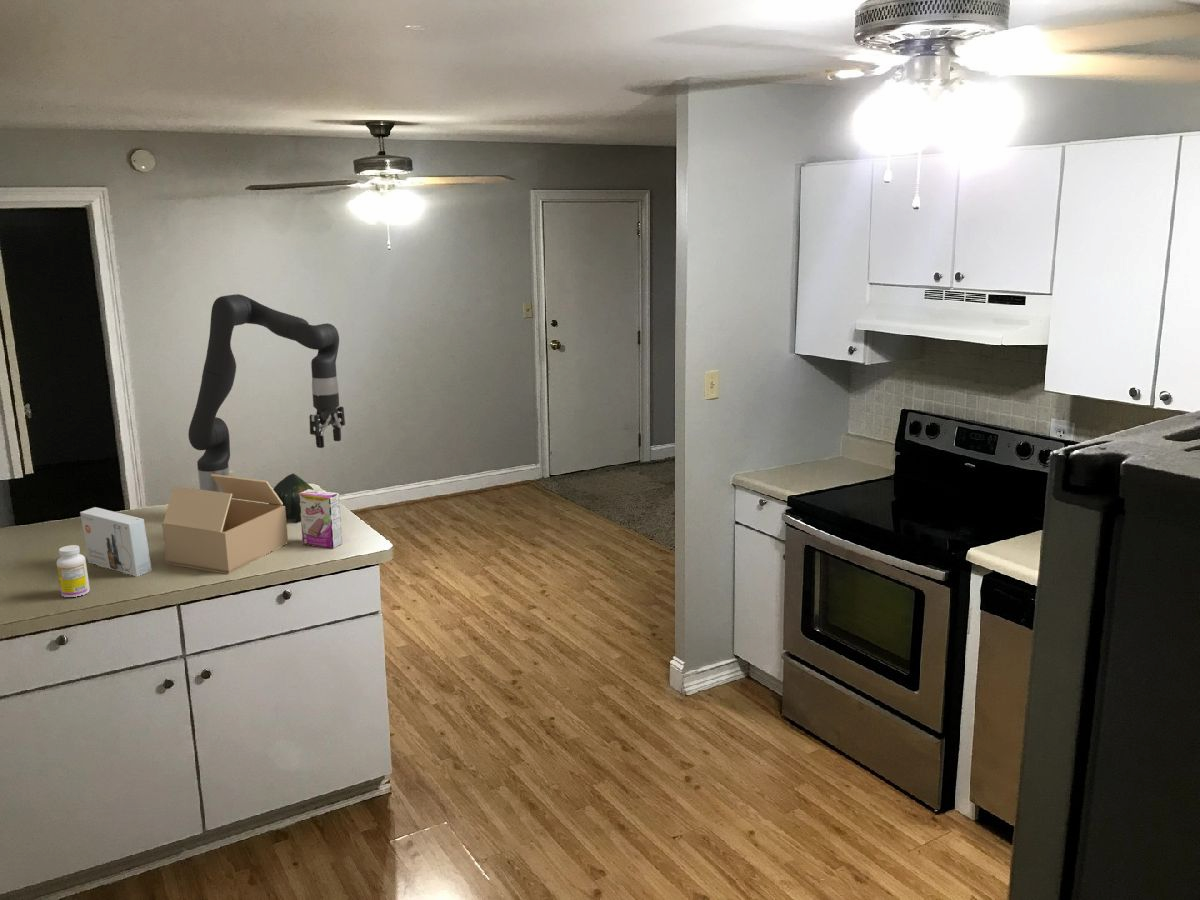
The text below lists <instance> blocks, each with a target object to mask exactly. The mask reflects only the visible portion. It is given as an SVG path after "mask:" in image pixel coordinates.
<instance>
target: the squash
mask: <svg viewBox="0 0 1200 900" xmlns="http://www.w3.org/2000/svg"><path fill="white" fill-rule="evenodd" d="M272 488H273V490H274V491H275V493H276V494H277V495H278V497H279V498H280V500H281V501H282V502H283V505H281V506H285V511H286V520H287V519H288V520H289V519H293V520H294V521H296V522H301V514H300V501H299V493H301V492H303V491H305V490H307V489H311V490H315V489H314V488H313V487H312V486H311V485H310V484H309V483H307V482H306V481H305V480H304V479H302V478H301V477H300V476H298V475H297V474H295V473H290V474H288V475H287V476H286V477H284V478H283V479H282V480H280V481H279V482H278V483H276V485H275V486H274V487H272ZM268 504H270V503H268ZM273 505H278V504H273Z"/></svg>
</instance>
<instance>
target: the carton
mask: <svg viewBox="0 0 1200 900" xmlns="http://www.w3.org/2000/svg"><path fill="white" fill-rule="evenodd" d="M287 523H288V522H287V519H286V511H285V506H281V505H273V504H269V503H263V502H255V501H248V500H240V499H233V498H232V499H231V501H230V505H229V508H228V512H227V516H226V519H225V523H224V526H223V530H222V532H218V531H211V530H205V529H198V528H191V527H184V526H178V525H171V524H164V523H163V522H162V523H161V527H162V528H161V529H162V537H163V543H164V554H165V561H166V564H167V565H172V564H173V565H174V566H177V567H178V566H180V567H184V566H185V567H186V568H190V569H197V570H201V571H202V570H203V571H207V572H208V571H209V572H213V573H215V572H216V573H222V574H228V575H230V574H231V573H234V572H236V571H238V570H240V569H242V568H245V566H248V565H250V564H251V563H253V562H256V561H257V559H258V560H259V558H260V559H261V558H263V557H265V556H267V555H268V554H267V553H269V554H271V553H272V552H271V551H273V550H275V549H277V548H279V547H281V546H283V545H285V544H286V543H288V544H289V539H288V538H289V536H288V525H287ZM285 546H286V545H285ZM283 547H284V546H283ZM281 548H282V547H281ZM279 549H280V548H279ZM277 550H278V549H277ZM275 551H276V550H275ZM270 552H271V553H270ZM273 552H274V551H273ZM266 554H267V555H266ZM264 555H265V556H264ZM255 560H256V561H255Z"/></svg>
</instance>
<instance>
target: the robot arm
mask: <svg viewBox="0 0 1200 900" xmlns="http://www.w3.org/2000/svg"><path fill="white" fill-rule="evenodd" d="M244 324H247V325H248V324H249V325H250V324H251V325H258V326H261V327H264V328H266V329H268V330H269V331H270V332H271V333H272V334H274V335H276V336H278V337H282V338H284V339H287V340H291V341H295V342H297V343H298V344H300V345H301V346H304V348H305V347H306V348H308V349H311V350H314V351H315V350H316V351H318V352H317V355H316V356H314V357H313V358H312V359H311V363H310V366H311V367H310V368H311V378H312V379H311V391H312V392H311V393H312V394H311V395H312V406H313V408H314V409H316V414H309V434H310V435H313V436H315V445H316V448H319V449H323V448H324V447H325V439H324V438H325V437H324V432H325V430H327V428H328V427H329V426H330V425H331V427H332V435H333V441H334V442H341V441H342V432H341V431H342V430H341V429H342V427H343V426H346V419H345V409H344V407H343V406H340V394H339V382H338V377H337V363H336V362H337V358H338V353H339V346H340V336H339V332H338V329H337V328H336V326H335V325H333V324H331V323H327V322H326V323H321V324H316V325H313V324H310V323H309V322H308V321H307V320H306V319H304V318H303V317H299V316H295V315H292V314H289V313H285V312H282V311H279V310H276V309H273V308H270V307H269V306H266V305H264V304H262V303H260V302H257V301H256V300H254V299H252V298H250V297H248V296H245V295H243V294H239V293H238V294H237V293H235V294H230V295H228V294H227V295H222V296H219V297H217V298H216V299H215V300H214V301H213V303H212V307H211V313H210V325H209V326H210V327H209V337H208V344H207V350H206V355H205V360H204V364H203V365H204V366H203V370H202V375H201V383H200V386H199V391H198V396H197V401H196V405H195V408H194V412H193V414H192V418H191V422H190V424H189V428H188V433H187V435H188V441H189V443H190V445H191V446H192V448H193V449H195V450H198V451H204V452H203V454H202V455H201V457H200V458H199V459H197V462H196V463H197V464H196V465H197V473H198V474H197V475H198V484H199V489H200V490H207V491H215V492H223V491H222V489H221V488H220V487H219V485H218V484H217V483H216V481H215V480H214V479H213V478H212V476H211V474H217V475H225V476H231V475H230V466H229V461H230V458H231V442H230V431H229V427H228V426H227V423H226V422H225V421H224V420H223V419H222V418H221V417H217V413H218V411H219V409H220V407H221V406H222V405H223V403H224V401H225V400H226V399H227V397H228V395H229V394H230V393H231V391H232V390H233V387H234V383H235V379H236V372H237V361H236V357H235V356H234V353H233V351H232V350H233V349H232V346H231V345H232V344H231V341H232V334H233V331H234V329H235V326H242V325H244ZM223 493H224V492H223ZM231 499H233V498H231Z"/></svg>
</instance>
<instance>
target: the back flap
mask: <svg viewBox="0 0 1200 900" xmlns="http://www.w3.org/2000/svg"><path fill="white" fill-rule="evenodd" d="M211 476H212V478H213V479H214V480H215V481H216V483H217V484H218V485H219V487H220V488H221V489H222V491H223V492H224V493H230V494H232V497H231V498H232V499H236V500H243V501H251V502H258V503H266V504H269V503H270V504H278V505H283V502H282V501H281V500H280V498H279V497H278V495H277V494H276V493H275V491H274V490H273V488H274V487H272V486H271V484H270V483H269V482H268V480H264V479H255V478H249V477H248V478H247V477H239V476H233V475H230V476H225V475H217V474H211Z"/></svg>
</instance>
